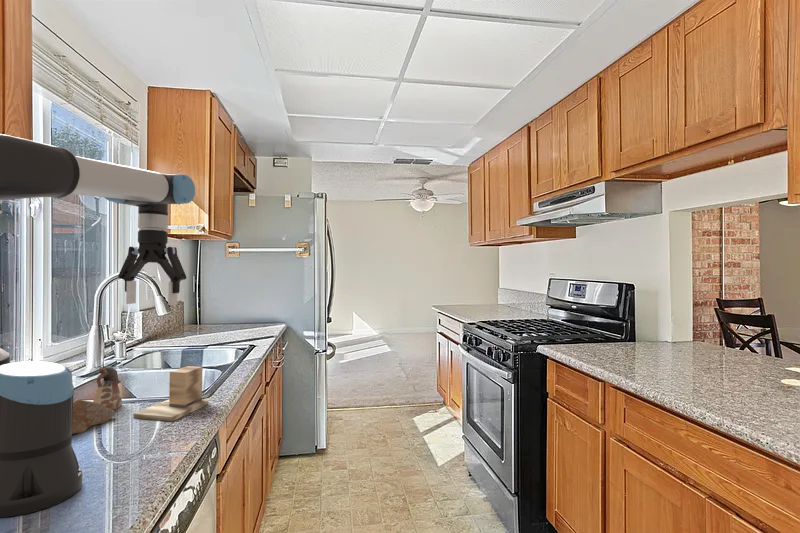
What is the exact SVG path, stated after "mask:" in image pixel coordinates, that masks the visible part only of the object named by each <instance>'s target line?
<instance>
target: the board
mask: <svg viewBox="0 0 800 533" xmlns="http://www.w3.org/2000/svg"><path fill="white" fill-rule="evenodd" d="M207 404H208V405H209V400H208V399H202V400H201V401H199V402H196V403H194V404H192V405H190V406H187V407H185V408H181V407H169V398H168V399H166V400H164V401H161V402H158V403H157V404H153V405H151V406H149V407H145V408H143V409H141V410H138V411H136V412H134V413H133V419H140V420H141V419H142V420H143V419H144V420H151V421H152V420H153V421H163V422H164V421H166V422H174V421H177V420H178V419H180V418H182V417H185V416H186V415H188V414H191V413H193V412H195V411H197V410H200V409H201V408H204V407H206V406H208V405H207ZM205 405H206V406H205Z"/></svg>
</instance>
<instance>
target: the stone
mask: <svg viewBox="0 0 800 533" xmlns="http://www.w3.org/2000/svg"><path fill="white" fill-rule="evenodd" d="M115 416H116V412H115V411H114V410H111V409H108V408H106V407H105V406H104V405H103V404H100V403H96V402H93V401H91V400H83V399H79V398H73V416H72V435H73V434H82V433H85V432H86V431H87V430H88V429H89V428H91V427H92V426H97V425H100V424H101V425H102V424H105V423H106V422H108V421H109V420H111V419H112V418H114V417H115Z"/></svg>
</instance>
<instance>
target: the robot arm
mask: <svg viewBox="0 0 800 533" xmlns="http://www.w3.org/2000/svg"><path fill="white" fill-rule="evenodd" d="M71 195H79V196H90V197H99V198H104V199H106V200H107V201H109V202H112V203H116V204H118V205H119V204H121V205H127V206H132V207H133V206H134V207H137V218H138V219H137V228H138V229H139V230H138V231H137V243H138V244H139V245H138V246H128V252H127V256H126V258H125V261H124V262H123V264H122V267H121V269H120V271H119V273H118V279H121V280H123V281H124V292H126V298H125V300H126V302H125V304H126V305H130V304H137V280H135V278H136V277H137V276H138V275H139V274H140V272H141V271H142V269H143V268H144V266H145V265H147V264H148V263H151V264H152V263H153V264H154V263H157V264H158V265H160V266H161V268H162V269H163V271H164V273H166V275H167V277H168V278H169V279H170V281H168V295H167V296H168V300H167V302H168V306H177V305H178V294H179V293H180V288H181V287H180V284H181V281H184V280H187V275H186V272H185V270H184V268H183V265H182V263H181V261H180V259H179V256H178V250H177V247H175V246H168V247H167V244H168V234H169V232H167V231H166V230H168V228H169V227H168V226H169V224H168V221H169V217H168V216H169V213H168V211H169V210H168V209H169V208H168V207H169V205H184V204H185V205H186V204H189V203H191V202H192V201H193V200H194V198H195V197H196V186H195V182H194V181H193V179H192V177H190V176H189V175H187V174H180V173H174V174H171V173H170V174H167V173H162V172H157V171H152V170H148V169H142V168H138V167H132V166H128V165H122V164H116V163H113V162H109V161H103V160H98V159H93V158H88V157H81V156H78V155H75V154H74V153H73V152H72V151H71V150H69V149H67V148H65V147H59V146H56V145H52V144H47V143H43V142H39V141H34V140H30V139H27V138H21V137H17V136H12V135H8V134H2V133H0V215H1V214H3V201H10V200H11V201H12V200H21V199H33V198H35V199H36V198H57V199H64V198H66V197H69V196H71ZM166 254H167V255H166ZM10 355H11V354H10V353H9V352H8V351H6V350H5V349H4V348H1V347H0V518H7V517H8V518H9V517H16V516H20V515H21V516H22V515H27V514H29V513H34V512H38V511H42V510H44V509H47V508H51V507H53V506H55V505H58V504H61V503H62V502H64V501H65V500H68V499H69V498H71V497H73V496H74V495H75V494H76V493H78V492H79V491H80V490H81V489H82V486H83V471H82V469H81V467H80V464H79V462H78V459H77V455H76V452H75V451H74V448H73V445H72V444H73V443H72V441H73V440H72V439H73V438H72V437H73V434H72V416H73V399H74V391H75V387H74V384H73V373H72V371H71V370H70V368H69V367H67V366H66V365H63V364H61V363H57V362H53V361H51V362H50V361H43V360H42V361H41V360H39V361H32V360H31V361H30V360H27V361H15V362H14V361H13V362H11V358H10V357H11V356H10Z"/></svg>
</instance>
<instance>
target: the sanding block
mask: <svg viewBox="0 0 800 533" xmlns="http://www.w3.org/2000/svg"><path fill="white" fill-rule="evenodd" d="M168 392H169V397H168V399H169V407H181V408H185V407H187V406H190V405H192V404H194V403H196V402H199V401H201V400H203V366H192V365H191V366H190V365H187V366H183V367H181V368H178V369H174V370H171V371H169V388H168Z"/></svg>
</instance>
